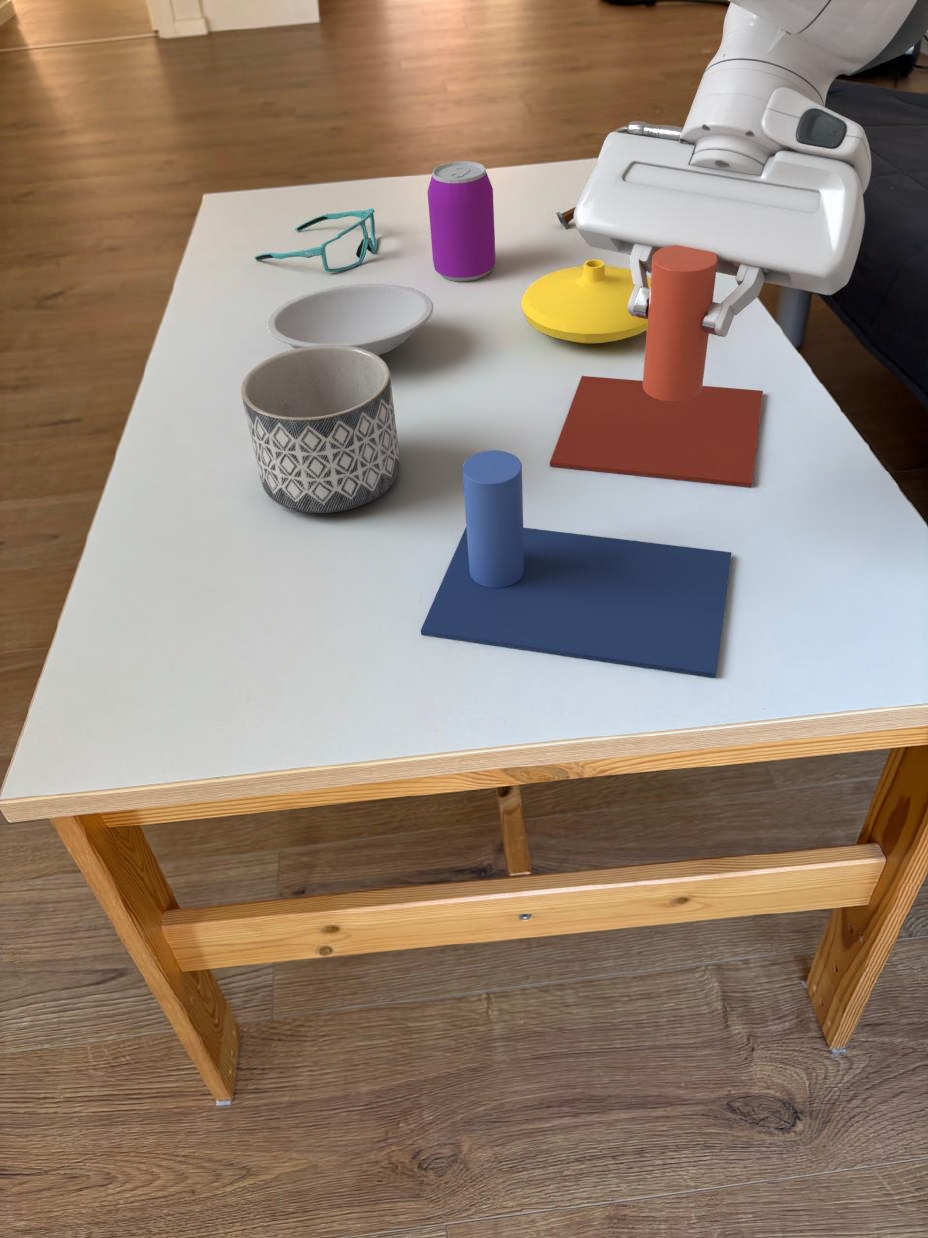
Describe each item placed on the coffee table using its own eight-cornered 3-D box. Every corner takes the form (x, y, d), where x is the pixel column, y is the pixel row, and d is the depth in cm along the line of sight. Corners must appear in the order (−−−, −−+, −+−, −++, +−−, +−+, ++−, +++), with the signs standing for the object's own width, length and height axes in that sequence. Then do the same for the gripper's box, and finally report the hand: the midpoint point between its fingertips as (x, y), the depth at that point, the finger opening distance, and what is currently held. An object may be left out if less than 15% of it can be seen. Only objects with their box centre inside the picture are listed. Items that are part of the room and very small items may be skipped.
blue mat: (730, 556, 82) (731, 551, 82) (715, 678, 73) (716, 673, 72) (468, 525, 88) (468, 520, 87) (420, 634, 78) (420, 630, 77)
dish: (426, 316, 117) (422, 274, 114) (446, 376, 107) (443, 332, 103) (272, 337, 116) (264, 295, 112) (278, 400, 105) (269, 356, 102)
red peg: (704, 374, 78) (720, 245, 71) (699, 404, 75) (714, 273, 68) (646, 369, 79) (656, 242, 72) (638, 399, 76) (648, 268, 69)
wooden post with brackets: (625, 211, 134) (613, 181, 131) (572, 244, 135) (559, 215, 132) (620, 206, 136) (608, 176, 133) (568, 239, 137) (555, 211, 134)
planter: (396, 437, 99) (384, 337, 92) (407, 513, 89) (394, 409, 82) (265, 452, 98) (243, 352, 91) (262, 530, 89) (237, 427, 82)
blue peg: (529, 557, 83) (527, 453, 76) (517, 591, 80) (514, 486, 73) (477, 550, 84) (471, 447, 77) (463, 584, 81) (455, 480, 74)
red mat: (762, 394, 101) (763, 390, 100) (751, 487, 89) (752, 482, 89) (581, 379, 105) (581, 375, 104) (549, 466, 93) (549, 461, 93)
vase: (626, 284, 121) (629, 224, 116) (690, 341, 109) (696, 278, 105) (501, 310, 117) (499, 250, 113) (553, 372, 106) (553, 308, 101)
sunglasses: (345, 281, 125) (336, 240, 122) (248, 277, 132) (237, 238, 129) (399, 237, 134) (392, 198, 131) (306, 235, 141) (297, 198, 138)
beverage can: (483, 286, 122) (478, 184, 114) (424, 280, 124) (415, 179, 116) (504, 260, 127) (501, 160, 119) (447, 255, 130) (440, 156, 122)
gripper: (601, 94, 74) (533, 277, 74) (889, 132, 65) (809, 339, 65) (625, 140, 79) (562, 309, 80) (893, 180, 70) (819, 371, 71)
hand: (675, 323), depth 73 cm, fingers closed on red peg, 4 cm apart
